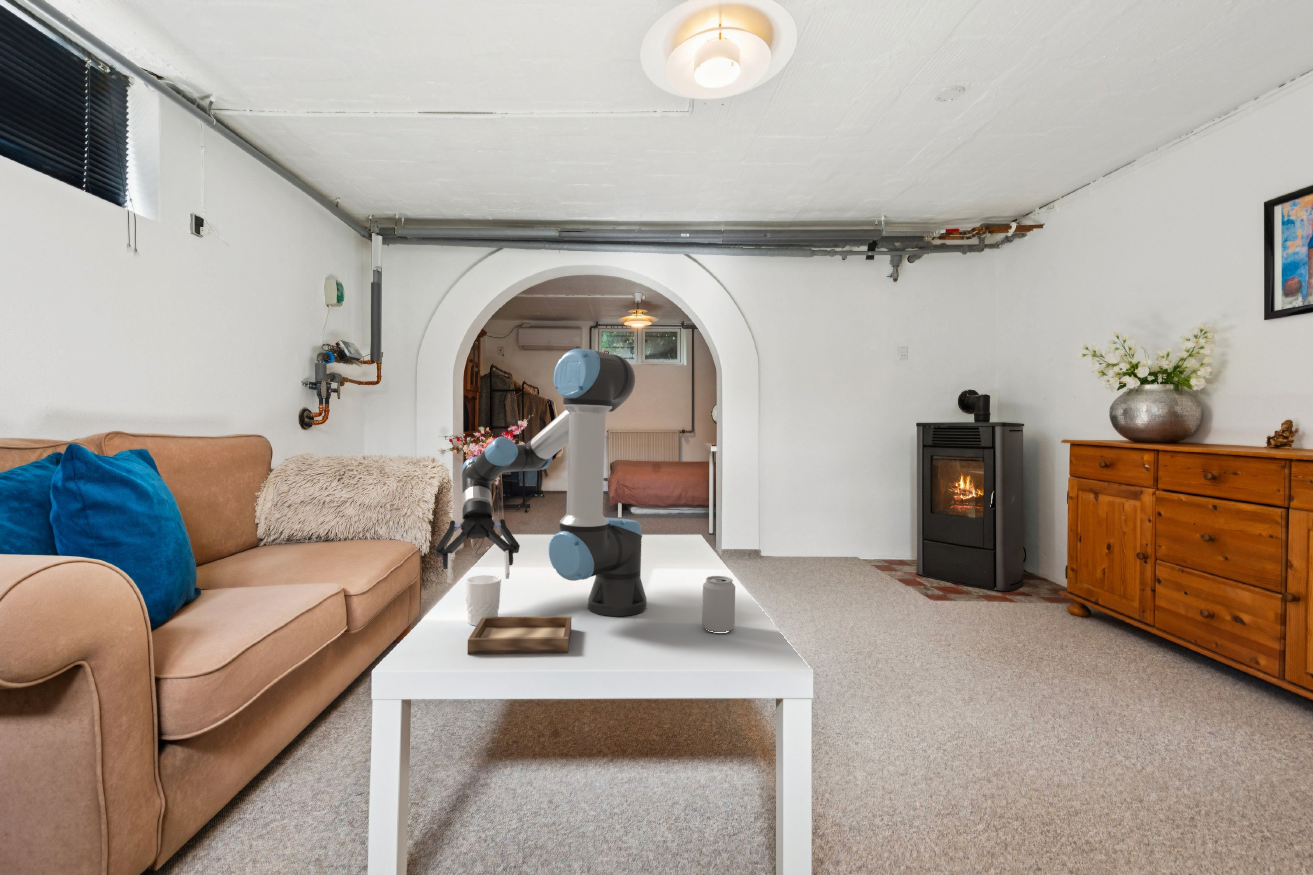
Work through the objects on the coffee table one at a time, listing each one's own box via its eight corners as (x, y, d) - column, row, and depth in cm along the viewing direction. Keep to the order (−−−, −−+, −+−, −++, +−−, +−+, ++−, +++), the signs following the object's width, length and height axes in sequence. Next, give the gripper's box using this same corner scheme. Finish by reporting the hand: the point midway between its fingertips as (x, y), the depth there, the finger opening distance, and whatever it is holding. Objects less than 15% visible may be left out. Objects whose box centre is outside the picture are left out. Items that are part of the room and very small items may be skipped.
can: (738, 627, 135) (739, 576, 135) (728, 637, 128) (729, 584, 128) (708, 622, 138) (709, 572, 138) (697, 631, 131) (698, 579, 131)
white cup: (490, 628, 130) (491, 584, 130) (458, 625, 132) (459, 582, 131) (506, 617, 138) (506, 576, 138) (476, 614, 139) (477, 574, 139)
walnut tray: (571, 629, 131) (571, 616, 131) (567, 653, 117) (568, 638, 117) (481, 630, 129) (482, 616, 129) (467, 654, 115) (467, 639, 115)
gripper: (523, 514, 159) (529, 582, 145) (427, 517, 151) (423, 589, 137) (526, 498, 154) (532, 566, 140) (426, 499, 146) (423, 572, 132)
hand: (478, 577), depth 139 cm, fingers open, 13 cm apart
